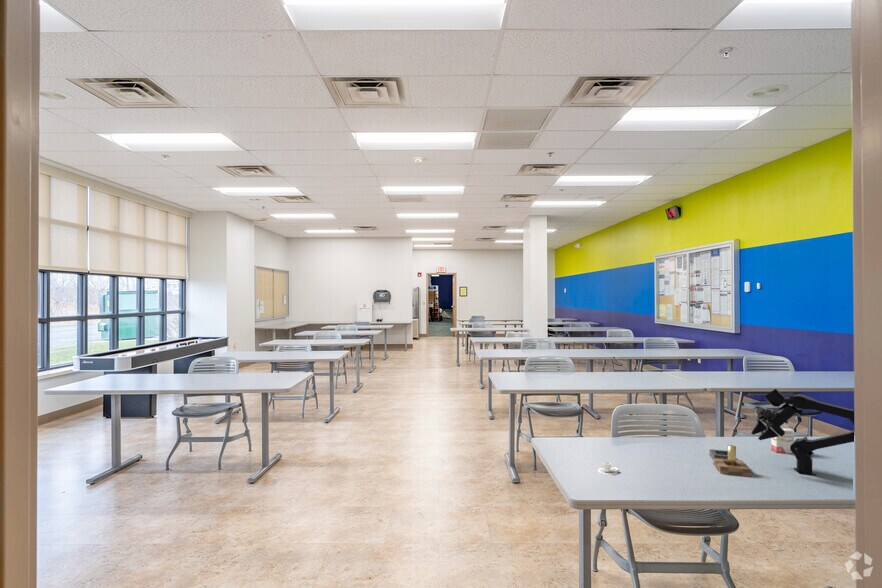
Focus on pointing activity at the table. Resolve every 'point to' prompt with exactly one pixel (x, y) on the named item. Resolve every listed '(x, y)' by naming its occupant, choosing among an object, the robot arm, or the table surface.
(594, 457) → the table surface
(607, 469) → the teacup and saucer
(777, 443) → the ink cartridge box
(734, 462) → the brass cylinder
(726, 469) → the wooden square frame
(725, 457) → the socket block
